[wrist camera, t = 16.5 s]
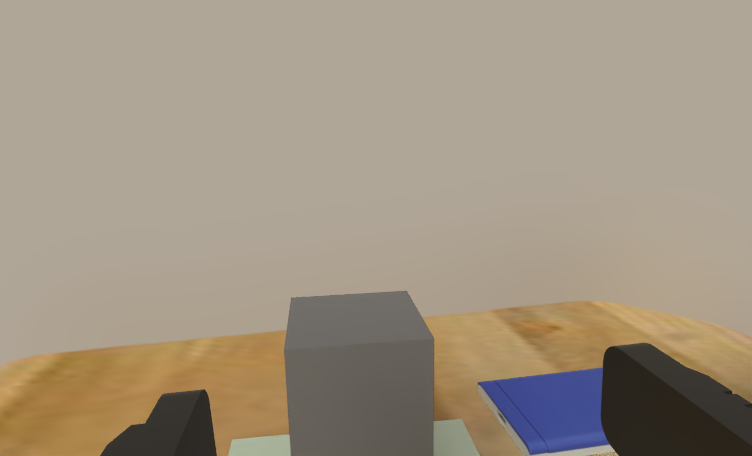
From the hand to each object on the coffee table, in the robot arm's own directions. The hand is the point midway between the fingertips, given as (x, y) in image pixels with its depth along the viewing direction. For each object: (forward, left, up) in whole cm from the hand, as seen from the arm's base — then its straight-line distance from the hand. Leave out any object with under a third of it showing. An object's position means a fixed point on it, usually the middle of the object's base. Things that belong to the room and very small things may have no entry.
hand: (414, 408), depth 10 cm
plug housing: (0, -11, -12) cm, 17 cm away
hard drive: (-16, -20, -15) cm, 29 cm away
